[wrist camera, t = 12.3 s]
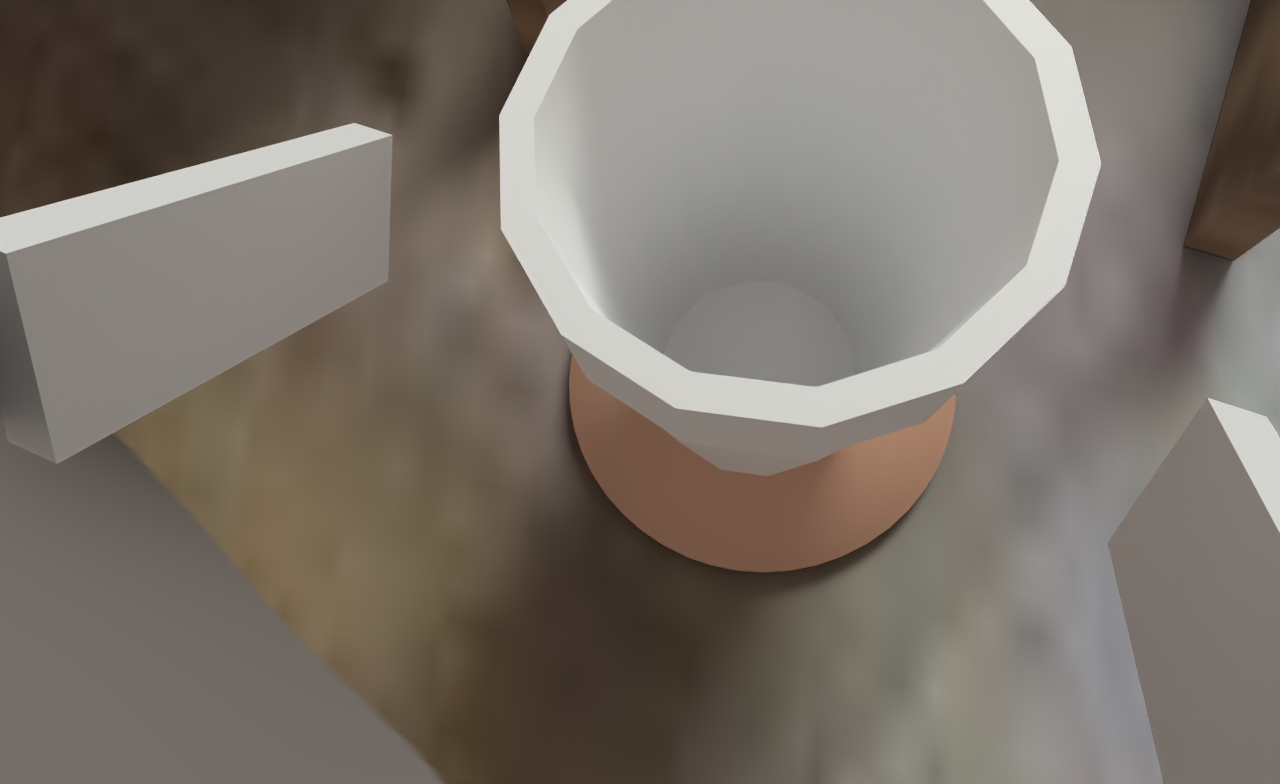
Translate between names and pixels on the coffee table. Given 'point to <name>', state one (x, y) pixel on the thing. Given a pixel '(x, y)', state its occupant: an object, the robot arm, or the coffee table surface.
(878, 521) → the terracotta pad
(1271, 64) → the wooden tray
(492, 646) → the coffee table surface
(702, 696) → the coffee table surface
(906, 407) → the foam cup
